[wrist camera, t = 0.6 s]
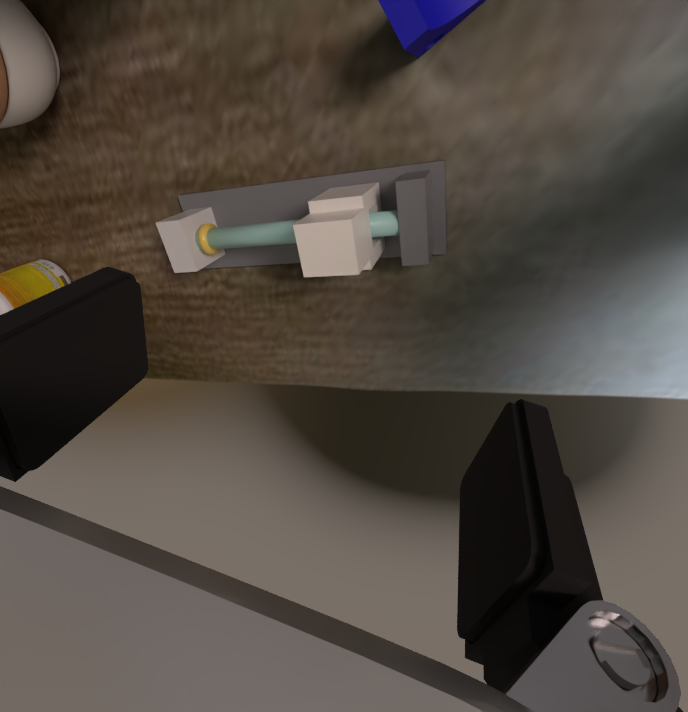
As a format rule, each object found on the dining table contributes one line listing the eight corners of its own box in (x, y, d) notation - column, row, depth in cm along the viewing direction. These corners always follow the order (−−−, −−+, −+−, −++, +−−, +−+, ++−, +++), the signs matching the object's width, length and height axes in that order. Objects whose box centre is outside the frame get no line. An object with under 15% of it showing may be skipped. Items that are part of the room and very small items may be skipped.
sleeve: (378, 182, 31) (349, 205, 24) (385, 248, 34) (360, 286, 27) (330, 188, 32) (290, 212, 26) (340, 251, 35) (306, 288, 28)
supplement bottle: (36, 248, 46) (-61, 281, 38) (78, 276, 47) (-9, 315, 38) (34, 283, 49) (-56, 321, 41) (73, 310, 50) (-8, 352, 42)
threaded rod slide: (445, 159, 30) (438, 170, 25) (447, 252, 33) (441, 275, 29) (180, 195, 37) (141, 207, 33) (204, 267, 41) (172, 286, 37)
